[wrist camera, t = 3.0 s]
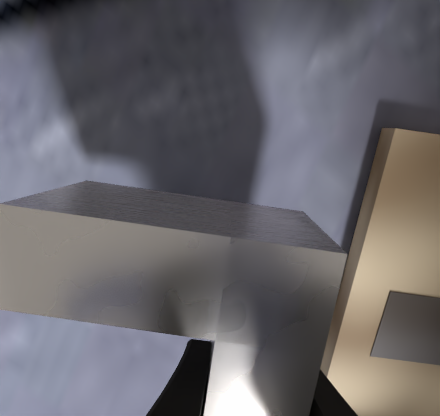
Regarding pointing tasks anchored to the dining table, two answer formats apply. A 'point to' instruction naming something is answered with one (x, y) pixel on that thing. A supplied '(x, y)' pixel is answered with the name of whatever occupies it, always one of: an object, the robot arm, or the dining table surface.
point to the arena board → (392, 286)
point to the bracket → (183, 281)
